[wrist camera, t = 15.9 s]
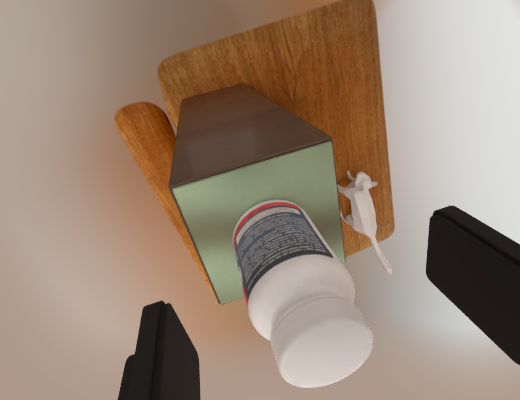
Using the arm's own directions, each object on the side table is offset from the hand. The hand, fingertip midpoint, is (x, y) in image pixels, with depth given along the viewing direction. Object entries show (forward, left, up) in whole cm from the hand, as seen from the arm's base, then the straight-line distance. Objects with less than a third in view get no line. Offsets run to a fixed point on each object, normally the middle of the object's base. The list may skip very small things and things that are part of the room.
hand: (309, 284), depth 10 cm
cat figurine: (+25, +20, -42) cm, 53 cm away
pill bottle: (+4, 0, -9) cm, 9 cm away
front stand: (+3, 0, -42) cm, 42 cm away
